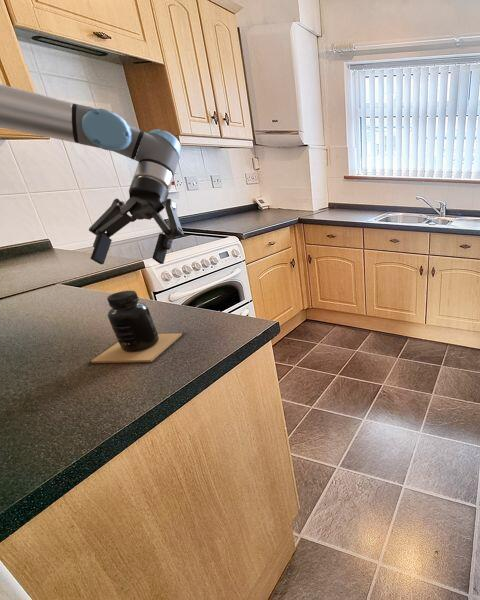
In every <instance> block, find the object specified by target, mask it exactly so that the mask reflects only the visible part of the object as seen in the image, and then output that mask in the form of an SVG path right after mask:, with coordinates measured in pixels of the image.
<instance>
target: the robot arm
mask: <svg viewBox="0 0 480 600" xmlns="http://www.w3.org/2000/svg"><path fill="white" fill-rule="evenodd" d="M0 128H1V129H5V130H11V131H15V132H20V133H25V134H29V135H35V136H40V137H46V138H49V139H54V140H61V141H65V142H69V143H75V144H79V145H83V146H87V147H88V146H89V147H94V148H97V149H101V150H105V151H111V152H114V153H117V154H119V155H121V156H124V157H126V158H129V159H131V160H133V161H135V162H137V166H136V169H135V172H134V174H133V177H132V180H131V182H130V186H129V189H128V194H129V198H128V199H127V200H126V201H124V200H123V201H122V200H120V199H119V198H115V199H113V200H112V203H111V205H110V206H109V207H108V208H107V209H106V210H105V212H104V213H102V214H101V216H100V217H98V219H97V220H96V221H95V222H93V224H91V226H90V227H89V228H88V231H89V232H90V233H92V234H93V235H95V238H94V242H93V244H92V247H93V250H92V253H91V256H90V260H91V261H94V262H95V263H97V264H99V265H104V264H105V262H106V259H107V256H108V252H109V251H110V247H111V244H112V242H113V239H112V238H111V237H112V236H114V235H115V234H117V233H118V232H119V231H121V230H122V229H123V228H124V227H126V226H128V224H130V223H135V221H137V220H139V221H140V220H148V221H149V220H152V219H153V220H154V221H155V223H156V224H157V225H158V227H159V228H160V229H161V233H158V237H157V241H156V244H155V248H154V251H153V253H152V260H154V261H155V262H157V263H158V264H159V265H164V263H165V260H166V255H167V253H168V251H169V250H171V248H172V244H173V241H174V239H175V238H176V237H183V236H184V231H183V228H182V225H181V222H180V219H179V216H178V211H177V210H178V205H177V204H176V203H175V202H174V201H173V200H172V199H171V198H169V193H170V190H171V187H172V183H173V181H174V180H173V179H174V177H175V174H176V170H177V167H178V165H179V160H180V155H181V151H182V145H181V142H180V141H179V139H177V137H176V136H175V135H173V134H172V133H170V132H169V131H166V130H160V129H157V128H155V129H152V130H150V131H149V132H146V131H143V130H142V129H138V128H137V127H134V126H133V125H131V124H129V123H127V121H126V120H125V119H124V118H123V117H122V116H120V115H119V114H117V113H115V111H111V110H108V109H104V108H96V107H93V106H88V105H87V106H86V105H84V104H78V103H74V102H72V101H68V100H63V99H60V98H56V97H53V96H48V95H45V94H40V93H37V92H34V91H33V92H32V91H29V90H25V89H21V88H18V87H14V86H10V85H6V84H1V83H0ZM164 209H165V212H166V215H167V219H168V222H169V224H170V226H169V225H168V224H167V222H166V221H165V219H164V218H163V216H162V215H161V213H162V211H163V210H164ZM128 213H129V214H130V215H129V214H128Z"/></svg>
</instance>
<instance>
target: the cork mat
mask: <svg viewBox="0 0 480 600" xmlns="http://www.w3.org/2000/svg"><path fill="white" fill-rule="evenodd" d="M158 336H159V340H158V342H157V343H156V344H155V345H153V346H152V347H150V348H148V349H145V350H142V351H137V352H126V351H123V350H122V348H121V346H120V344H119V342H118V341H117V342H116V343H114V344H113V345H112V346H110V347H109V348H107V349H106V350H105V351H103V352H101V353H100V354H99V355H97V356H96V357H94V358H93V359H91V360H90V363H91V364H112V363H115V364H117V363H120V364H121V363H152V362H153V361H154V360H156V359H157V358H158V357H159V356H161V354H162V353H164V351H166V350H167V349H168V348H169V347H170V346H172V344H174V343H175V342H176V341H177V340H178V339H179V338H180V337H182V336H183V333H180V332H177V333H158Z"/></svg>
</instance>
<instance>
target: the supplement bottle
mask: <svg viewBox="0 0 480 600" xmlns="http://www.w3.org/2000/svg"><path fill="white" fill-rule="evenodd" d="M106 299H107V302H108V306H109V308H110V309H109V310H108V312H107V318H108V321H109V323H110V325H111V328H112V330H113V333H114V336H115V338H116V339H117V342H119V344H120V346H121V348H122V350H123V351H126V352H137V351H142V350H145V349H148V348H150V347H152V346H153V345H155V344H156V343H157V342H158V340H159V336H158V334H159V333H158V331H157V328H156V325H155V321H154V320H153V317H152V315H151V312H150V309H149V306H148V305H147V304H146V303H145V302H142V301H140V297H139V296H138V294H137V291H135V290H132V289H131V290H130V289H129V290H122V291H117V292H114V293H111V294H110V295H108V296H106Z"/></svg>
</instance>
